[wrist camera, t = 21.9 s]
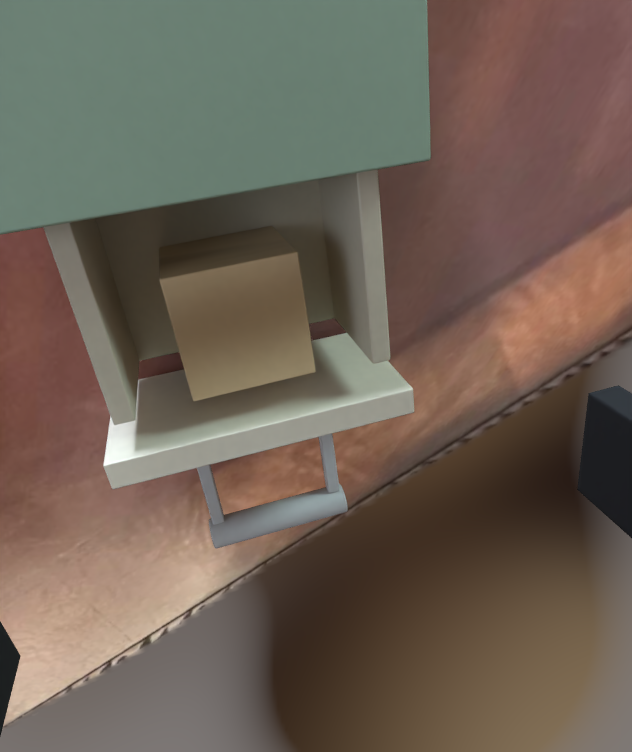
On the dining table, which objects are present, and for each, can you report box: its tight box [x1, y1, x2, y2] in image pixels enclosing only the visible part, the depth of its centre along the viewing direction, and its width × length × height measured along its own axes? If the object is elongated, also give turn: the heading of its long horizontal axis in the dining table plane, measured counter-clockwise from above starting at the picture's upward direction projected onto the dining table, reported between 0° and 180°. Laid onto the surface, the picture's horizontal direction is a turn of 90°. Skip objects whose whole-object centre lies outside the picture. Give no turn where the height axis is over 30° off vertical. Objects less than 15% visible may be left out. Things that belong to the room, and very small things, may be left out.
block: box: [159, 226, 316, 401], centre depth 23 cm, size 5×5×5 cm
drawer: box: [43, 170, 414, 548], centre depth 23 cm, size 24×13×7 cm, turn 7°
